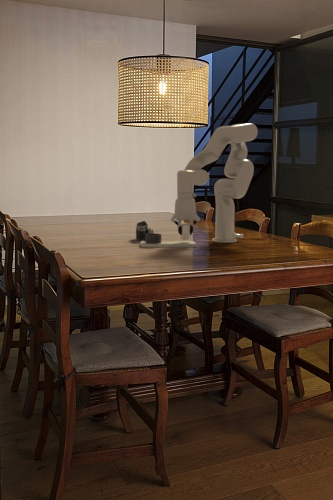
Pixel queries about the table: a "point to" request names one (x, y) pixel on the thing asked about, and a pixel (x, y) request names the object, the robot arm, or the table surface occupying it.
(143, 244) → the board
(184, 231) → the cylinder
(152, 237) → the black faceted cup
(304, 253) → the table surface
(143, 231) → the camera
